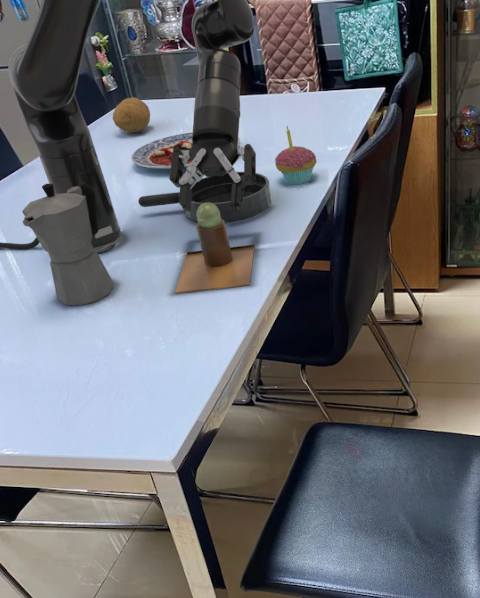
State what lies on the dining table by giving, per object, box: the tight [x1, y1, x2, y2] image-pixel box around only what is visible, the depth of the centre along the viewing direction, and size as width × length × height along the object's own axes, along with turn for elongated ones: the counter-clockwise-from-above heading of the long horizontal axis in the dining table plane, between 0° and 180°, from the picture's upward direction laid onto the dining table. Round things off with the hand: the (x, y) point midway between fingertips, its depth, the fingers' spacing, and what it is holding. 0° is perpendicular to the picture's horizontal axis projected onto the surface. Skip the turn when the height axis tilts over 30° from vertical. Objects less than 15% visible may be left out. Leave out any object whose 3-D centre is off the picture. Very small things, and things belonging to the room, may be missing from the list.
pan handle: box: [138, 191, 180, 208], centre depth 138 cm, size 9×2×2 cm, turn 93°
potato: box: [112, 97, 151, 134], centre depth 189 cm, size 10×14×8 cm
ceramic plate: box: [130, 131, 241, 170], centre depth 168 cm, size 26×26×3 cm
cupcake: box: [274, 125, 317, 185], centre depth 144 cm, size 9×8×12 cm
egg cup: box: [195, 202, 233, 267], centre depth 118 cm, size 5×5×10 cm
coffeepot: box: [21, 183, 115, 306], centre depth 112 cm, size 15×9×18 cm, turn 159°
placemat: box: [174, 244, 256, 294], centre depth 121 cm, size 12×20×1 cm, turn 3°
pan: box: [184, 171, 273, 223], centre depth 138 cm, size 17×17×4 cm
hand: (210, 209), depth 117 cm, fingers open, 8 cm apart
